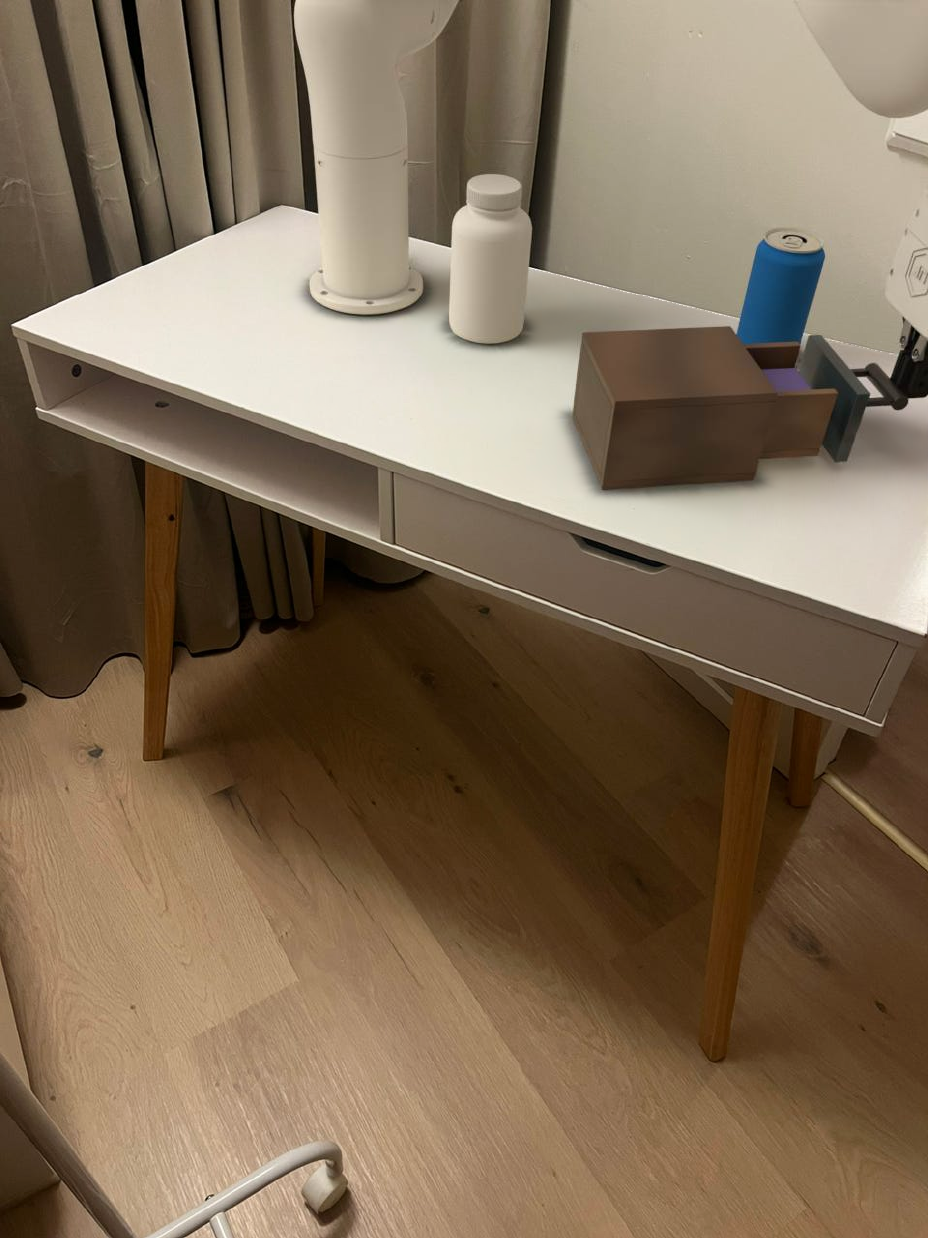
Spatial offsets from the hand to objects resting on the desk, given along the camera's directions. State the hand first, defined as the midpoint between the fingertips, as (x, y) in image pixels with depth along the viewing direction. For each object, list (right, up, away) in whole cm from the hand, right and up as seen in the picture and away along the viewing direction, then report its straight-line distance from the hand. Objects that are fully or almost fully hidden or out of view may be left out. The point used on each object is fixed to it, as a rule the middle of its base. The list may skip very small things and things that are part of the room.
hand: (906, 393), depth 89 cm
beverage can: (-9, +7, +14) cm, 18 cm away
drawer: (-10, -3, +1) cm, 11 cm away
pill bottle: (-38, +11, +16) cm, 42 cm away
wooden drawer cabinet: (-22, -5, 0) cm, 23 cm away
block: (-12, -3, 0) cm, 12 cm away
